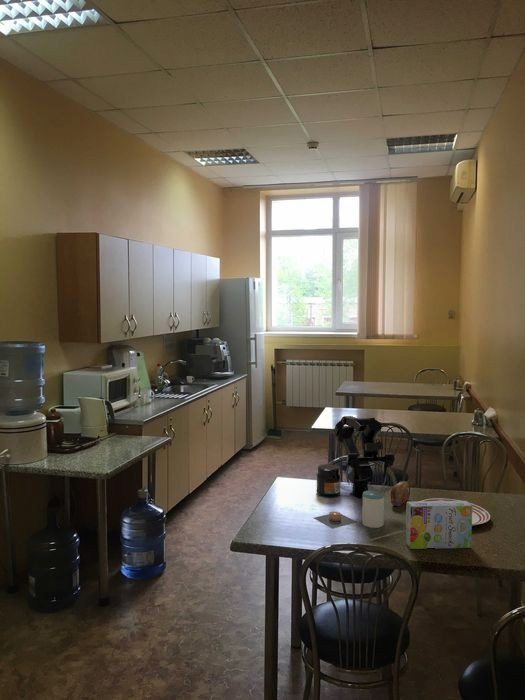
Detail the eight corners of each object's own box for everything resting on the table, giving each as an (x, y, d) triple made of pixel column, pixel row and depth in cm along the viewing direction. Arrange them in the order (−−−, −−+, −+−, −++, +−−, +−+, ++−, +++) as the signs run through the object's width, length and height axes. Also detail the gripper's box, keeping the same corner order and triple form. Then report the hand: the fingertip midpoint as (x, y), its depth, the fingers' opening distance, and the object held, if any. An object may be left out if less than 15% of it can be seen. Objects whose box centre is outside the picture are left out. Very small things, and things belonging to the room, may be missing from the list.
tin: (396, 509, 228) (396, 488, 228) (388, 507, 230) (389, 487, 229) (410, 498, 240) (411, 479, 240) (403, 497, 242) (404, 478, 241)
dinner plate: (485, 509, 229) (486, 501, 229) (494, 535, 203) (494, 526, 202) (415, 502, 236) (416, 494, 236) (415, 527, 210) (415, 518, 210)
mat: (312, 519, 217) (313, 517, 217) (337, 513, 223) (337, 512, 223) (332, 529, 207) (332, 528, 207) (357, 523, 213) (357, 522, 213)
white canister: (361, 520, 215) (361, 490, 214) (381, 521, 215) (381, 490, 214) (364, 528, 208) (364, 496, 207) (384, 529, 208) (385, 497, 207)
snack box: (465, 542, 197) (466, 499, 195) (471, 549, 191) (473, 505, 190) (405, 542, 196) (406, 500, 195) (409, 549, 190) (410, 506, 189)
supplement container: (342, 498, 241) (342, 470, 240) (317, 498, 240) (318, 470, 240) (338, 490, 251) (339, 463, 250) (315, 490, 251) (315, 463, 250)
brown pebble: (326, 519, 216) (327, 512, 215) (335, 516, 218) (336, 510, 218) (334, 523, 212) (334, 516, 212) (343, 520, 214) (343, 514, 214)
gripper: (347, 433, 228) (351, 468, 217) (394, 434, 227) (399, 468, 217) (345, 448, 236) (348, 482, 226) (389, 448, 236) (395, 482, 226)
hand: (372, 478), depth 223 cm, fingers open, 9 cm apart
